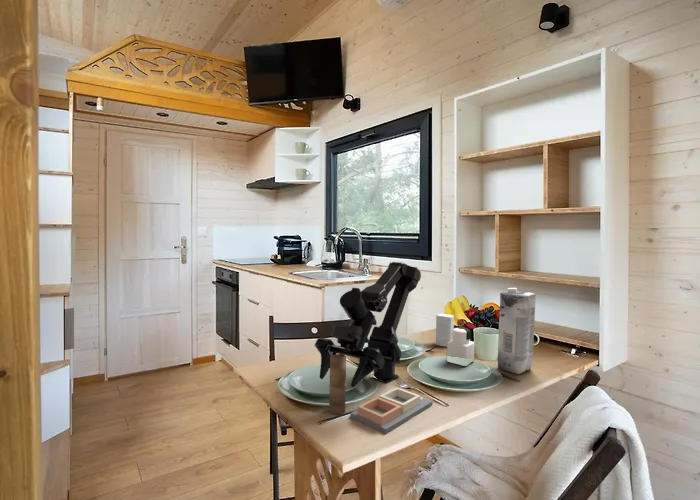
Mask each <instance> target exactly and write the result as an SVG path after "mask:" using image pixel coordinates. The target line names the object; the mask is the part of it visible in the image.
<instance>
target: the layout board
mask: <svg viewBox="0 0 700 500" xmlns="http://www.w3.org/2000/svg"><path fill="white" fill-rule="evenodd" d="M433 403H434V402H433V400H429V399H426V398H424V397H423V396H422V397H421V395H419V394H416V393H414V392H412V391H411V392H410V391H408V390H406V389H403V388H400V387H397V386H396V387H394V388H392V389H391V390H388V391H386V392H384V393H383V394H380V395H379V397H378V396H376V397H374V398H372V399H370V400H368V401H366V402H364V403H362V404H360V405H358V406H357V409H355V410H354V411H352V412H350V418H352V419H353V420H355V421H358V422H359V423H362V424H364V425H367V426H369V427H371V428H373V429H375V430H378V431H380V432H382V433H384V434H388V433H389V432H391V431H392V430H394V429H396V428H398V427H400V426H401V425H402V424H404V423H406V422H408V421H410V420H411V419H412V418H414V417H416V416H417V415H419V414H421V413H422V412H424V411H426V410H427V409H429V408H430V407H432V406H433Z"/></svg>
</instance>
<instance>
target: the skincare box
mask: <svg viewBox="0 0 700 500" xmlns="http://www.w3.org/2000/svg"><path fill="white" fill-rule="evenodd" d="M435 317H436V318H435V319H436V321H435V322H436V324H435V346H441V347H446V348H447V343H448V342H449V341H451V340H452V329H453V328H455V315H454V314H453V315H452V314H445V313H438V314H437V315H435Z"/></svg>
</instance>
